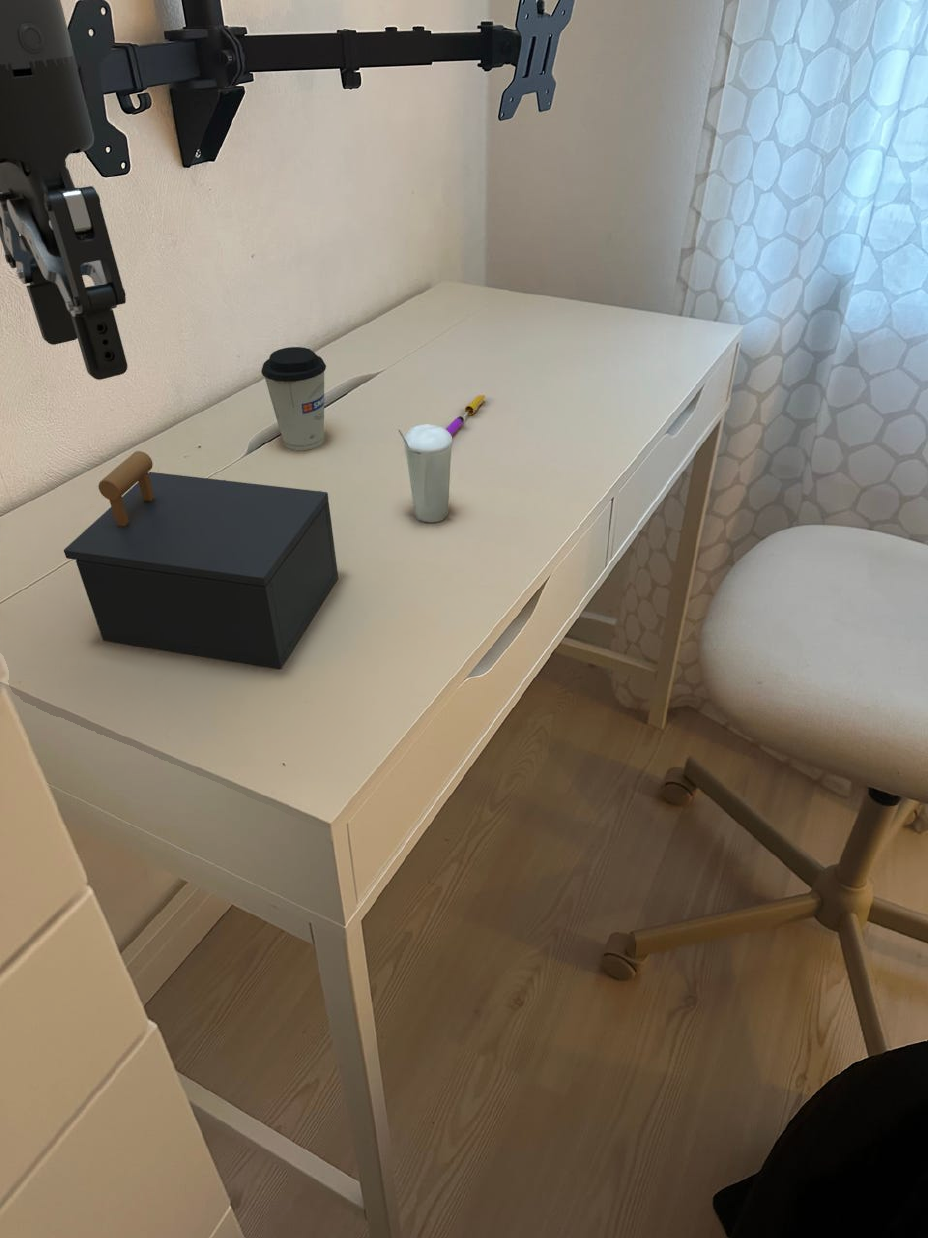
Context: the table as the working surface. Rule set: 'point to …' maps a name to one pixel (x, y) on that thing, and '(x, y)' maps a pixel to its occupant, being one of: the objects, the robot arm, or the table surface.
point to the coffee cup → (297, 395)
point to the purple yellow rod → (469, 410)
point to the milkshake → (429, 470)
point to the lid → (195, 524)
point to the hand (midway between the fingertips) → (85, 357)
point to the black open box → (217, 604)
